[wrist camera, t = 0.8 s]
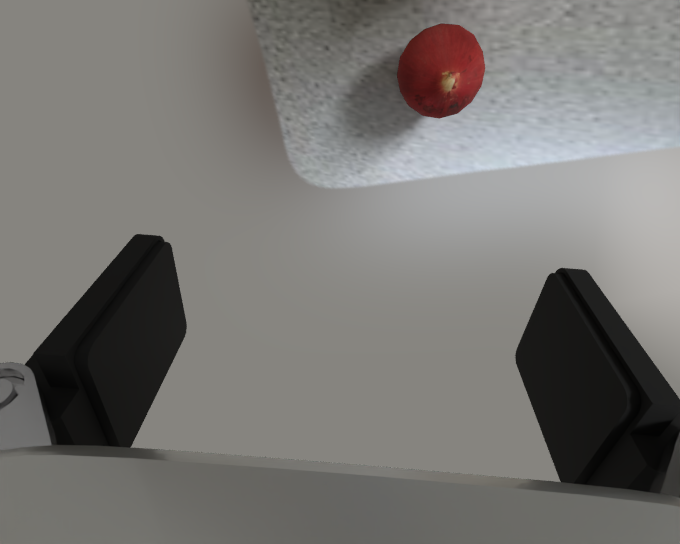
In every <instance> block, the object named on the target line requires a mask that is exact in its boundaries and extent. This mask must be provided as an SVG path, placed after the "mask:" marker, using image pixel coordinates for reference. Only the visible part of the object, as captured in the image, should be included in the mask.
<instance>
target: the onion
mask: <svg viewBox="0 0 680 544" xmlns="http://www.w3.org/2000/svg"><path fill="white" fill-rule="evenodd" d="M484 72H485V64H484V57H483V51H482V49H481V47H480V45H479V44H478V42H477V40H476V38H475V36H474V35H473V34H472V33H470V32H469V31H467V30H466V29H464V28H463V27H461V26H460V25H452V24H439V25H436V26H433V27H430V28H426V29H424V30H423V31H422V32H420V33H419V34H418V35H417V36H415V37H414V38H413V39H412V40H410V42H409V43H408V45H407V47H406V48H405V50H404V52H403V53H402V55H401V56H400V60H399V67H398V73H397V78H398V83H399V88H400V92H401V94H402V95H403V97H404V99H405V101H406V102H407V104H408V105H409V106H410V107H411V108H413V109H414V110H415V111H417V112H418V113H420V114H421V115H423V116H428V117H434V118H443V117H446V116H450V115H454V114H457V113H459V112H460V111H461V110H462V109H463V108H464V107H466V106H467V105H468V104H469V103H471V102H472V100H473V99H474V97H475V95H476V94H477V92H478V91H479V89H480V87H481V85H482V81H483V76H484Z"/></svg>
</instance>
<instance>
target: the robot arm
mask: <svg viewBox="0 0 680 544" xmlns="http://www.w3.org/2000/svg"><path fill="white" fill-rule="evenodd" d="M186 327H187V326H186V319H185V314H184V308H183V303H182V298H181V293H180V288H179V283H178V277H177V272H176V267H175V262H174V257H173V252H172V247H171V245H170V243H168V242H164V239H163V238H162V237H161V236H155V235H142V234H137V235H135V236H134V237H133V238H132V239H131V240H130V241H129V242H128V244H127V245H126V246H125V247H124V248H123V249H122V251H121V252H120V253H119V254H118V255H117V257H116V258H115V259H114V260H113V261H112V262H111V263H110V265H109V266H108V267H107V268H106V269H105V270H104V272H103V273H102V274H101V275H100V276H99V277H98V279H97V280H96V281H95V282H94V283H93V284H92V286H91V287H90V288H89V289H88V290H87V292H86V293H85V294H84V295H83V296H82V297H81V298H80V300H79V301H78V302H77V303H76V304H75V305H74V307H73V308H72V309H71V310H70V311H69V312H68V314H67V315H66V316H65V317H64V318H63V319H62V321H61V322H60V323H59V324H58V325H57V326H56V328H55V329H54V330H53V331H52V332H51V333H50V335H49V336H48V337H47V338H46V339H45V340H44V342H43V343H42V344H41V345H40V346H39V347H38V349H37V350H36V351H35V352H34V354H33V355H32V357H31V358H30V359H29V360H28V361H27V363H26V364H25V365H23V364H19V363H14V362H7V363H0V544H680V399H679V398H678V396H677V395H676V393H675V392H674V391H673V389H672V388H671V387H670V385H669V384H668V382H667V381H666V380H665V378H664V377H663V375H662V374H661V373H660V371H659V370H658V369H657V367H656V366H655V364H654V363H653V361H652V360H651V359H650V357H649V356H648V355H647V353H646V352H645V351H644V349H643V348H642V346H641V345H640V343H639V342H638V341H637V339H636V338H635V337H634V335H633V334H632V333H631V331H630V330H629V328H628V327H627V326H626V324H625V323H624V321H623V320H622V319H621V317H620V316H619V314H618V313H617V312H616V310H615V309H614V307H613V306H612V305H611V303H610V302H609V301H608V299H607V298H606V296H605V295H604V294H603V292H602V291H601V289H600V288H599V287H598V285H597V284H596V283H595V281H594V280H593V278H592V277H591V276H590V274H589V273H588V272H587V271H586V270H580V269H568V268H560V269H558V270H557V271H556V272H555V273H551V274H550V275H549V276H548V278H547V280H546V282H545V284H544V287H543V289H542V292H541V294H540V296H539V298H538V301H537V303H536V305H535V308H534V310H533V313H532V315H531V317H530V320H529V322H528V324H527V326H526V329H525V331H524V334H523V336H522V338H521V341H520V343H519V345H518V348H517V351H516V364H517V367H518V369H519V372H520V375H521V377H522V380H523V383H524V386H525V388H526V391H527V394H528V396H529V399H530V401H531V404H532V407H533V410H534V412H535V415H536V417H537V420H538V423H539V425H540V428H541V431H542V434H543V436H544V438H545V442H546V444H547V447H548V450H549V452H550V455H551V458H552V460H553V463H554V465H555V468H556V471H557V473H558V476H559V479H560V481H561V482H553V481H541V480H531V479H519V478H508V477H507V478H506V477H496V476H484V475H473V474H461V473H450V472H439V471H426V470H415V469H403V468H391V467H379V466H367V465H354V464H341V463H330V462H318V461H305V460H293V459H280V458H267V457H254V456H241V455H227V454H214V453H202V452H201V453H200V452H189V451H175V450H160V449H143V448H130V447H131V446H132V444H133V441H134V439H135V437H136V435H137V433H138V431H139V429H140V427H141V425H142V423H143V421H144V419H145V417H146V415H147V412H148V410H149V409H150V407H151V405H152V403H153V401H154V399H155V396H156V394H157V392H158V390H159V388H160V386H161V384H162V382H163V380H164V378H165V376H166V374H167V372H168V370H169V367H170V366H171V364H172V362H173V360H174V358H175V356H176V353H177V351H178V349H179V347H180V345H181V343H182V341H183V339H184V337H185V334H186Z"/></svg>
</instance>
